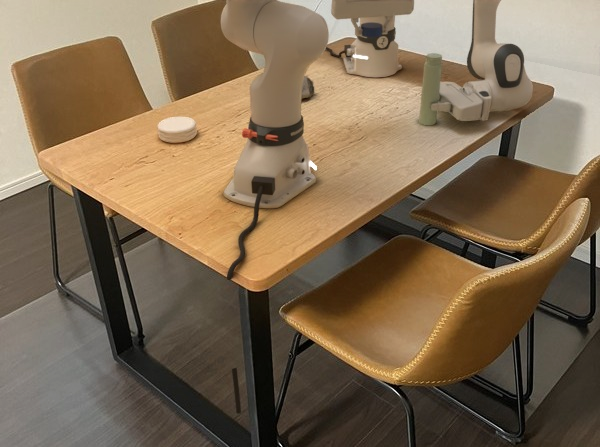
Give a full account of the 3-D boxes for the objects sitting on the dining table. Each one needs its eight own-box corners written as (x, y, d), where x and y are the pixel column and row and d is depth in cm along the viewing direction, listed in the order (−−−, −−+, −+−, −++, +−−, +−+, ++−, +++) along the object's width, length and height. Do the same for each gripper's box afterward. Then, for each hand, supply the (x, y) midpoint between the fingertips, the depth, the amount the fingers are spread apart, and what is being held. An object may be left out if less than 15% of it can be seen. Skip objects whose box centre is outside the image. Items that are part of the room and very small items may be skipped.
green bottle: (426, 117, 172) (433, 51, 162) (439, 122, 168) (447, 55, 159) (415, 121, 169) (421, 55, 159) (428, 126, 166) (435, 59, 156)
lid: (375, 38, 152) (375, 29, 150) (356, 35, 154) (356, 26, 153) (386, 33, 155) (386, 24, 154) (367, 30, 158) (367, 21, 157)
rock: (319, 95, 186) (318, 72, 182) (294, 104, 180) (293, 80, 176) (285, 84, 195) (284, 62, 192) (261, 93, 189) (259, 70, 186)
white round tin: (160, 128, 167) (158, 116, 165) (197, 126, 168) (196, 114, 166) (157, 144, 158) (155, 132, 157) (196, 142, 159) (195, 129, 157)
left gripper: (334, -19, 143) (333, 41, 151) (418, -24, 146) (414, 35, 154) (328, -24, 148) (327, 34, 156) (409, -29, 151) (405, 28, 159)
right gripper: (458, 74, 175) (412, 78, 172) (493, 99, 158) (443, 105, 156) (455, 95, 178) (410, 100, 176) (490, 122, 162) (440, 128, 159)
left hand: (371, 34), depth 155 cm, fingers closed on lid, 5 cm apart
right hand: (426, 102), depth 166 cm, fingers closed on green bottle, 4 cm apart
